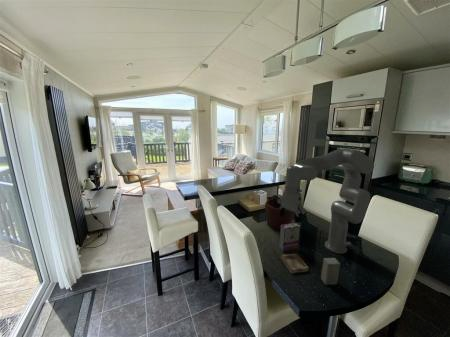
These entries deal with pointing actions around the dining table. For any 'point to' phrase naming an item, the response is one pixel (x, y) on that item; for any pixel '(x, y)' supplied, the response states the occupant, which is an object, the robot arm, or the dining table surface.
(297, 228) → the candy bar box
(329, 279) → the skincare box
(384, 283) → the dining table surface
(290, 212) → the bucket
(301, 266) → the oak tray
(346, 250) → the robot arm
